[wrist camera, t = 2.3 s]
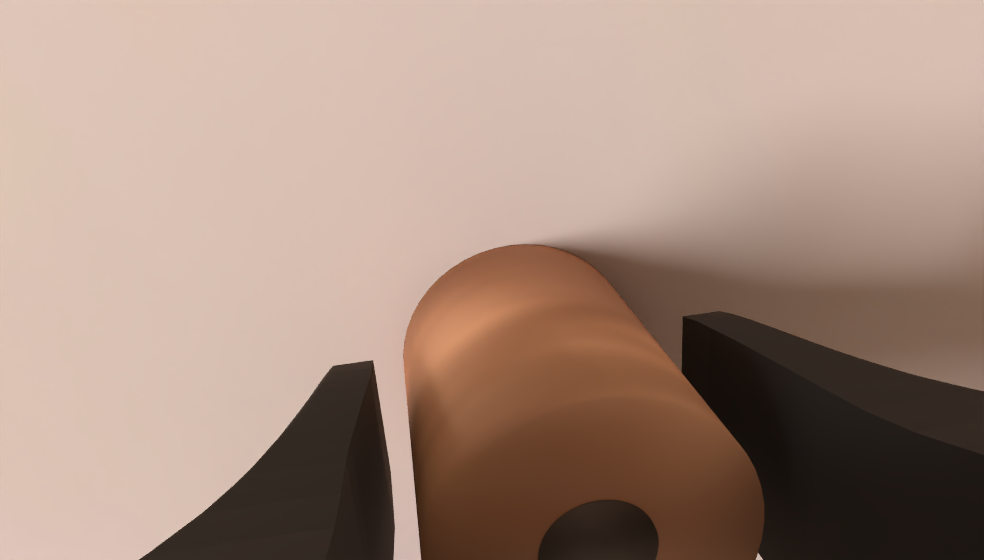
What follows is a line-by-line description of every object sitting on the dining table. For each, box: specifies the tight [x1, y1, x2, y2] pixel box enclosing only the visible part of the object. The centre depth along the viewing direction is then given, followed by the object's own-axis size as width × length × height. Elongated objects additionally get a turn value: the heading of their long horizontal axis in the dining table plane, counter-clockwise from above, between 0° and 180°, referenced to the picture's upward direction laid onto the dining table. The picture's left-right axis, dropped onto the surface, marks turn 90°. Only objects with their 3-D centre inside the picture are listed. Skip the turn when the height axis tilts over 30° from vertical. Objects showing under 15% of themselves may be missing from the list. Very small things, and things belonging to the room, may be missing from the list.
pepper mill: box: [403, 244, 764, 560], centre depth 11 cm, size 4×4×5 cm
